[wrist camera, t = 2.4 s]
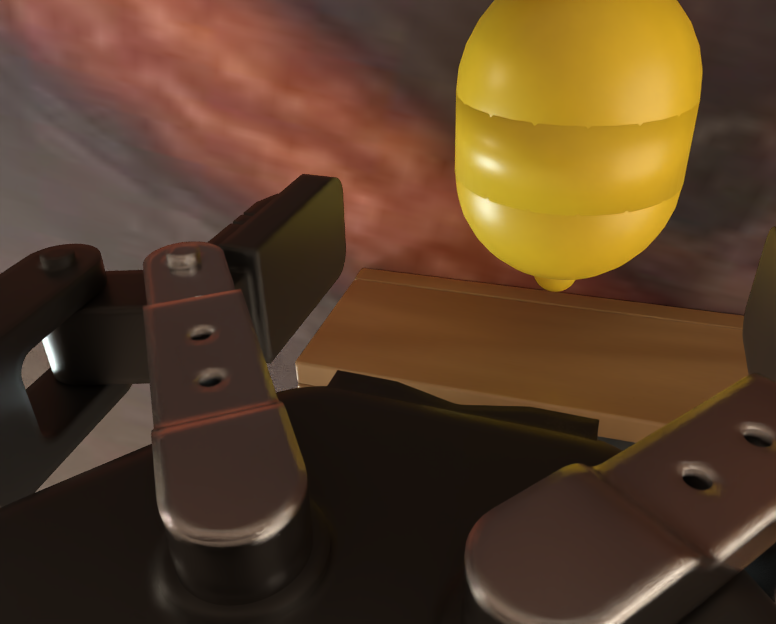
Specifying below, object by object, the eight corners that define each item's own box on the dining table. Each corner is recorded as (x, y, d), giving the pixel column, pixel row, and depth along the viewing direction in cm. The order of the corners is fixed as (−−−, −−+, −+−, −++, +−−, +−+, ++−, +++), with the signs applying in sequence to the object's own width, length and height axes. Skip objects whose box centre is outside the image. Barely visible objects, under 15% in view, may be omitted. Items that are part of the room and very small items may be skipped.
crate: (361, 266, 25) (293, 361, 20) (792, 321, 21) (829, 452, 16) (382, 586, 34) (338, 701, 30) (682, 663, 30) (685, 809, 26)
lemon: (486, -84, 18) (429, -64, 14) (724, -90, 16) (748, -68, 12) (476, 235, 23) (430, 328, 18) (659, 254, 21) (659, 361, 17)
